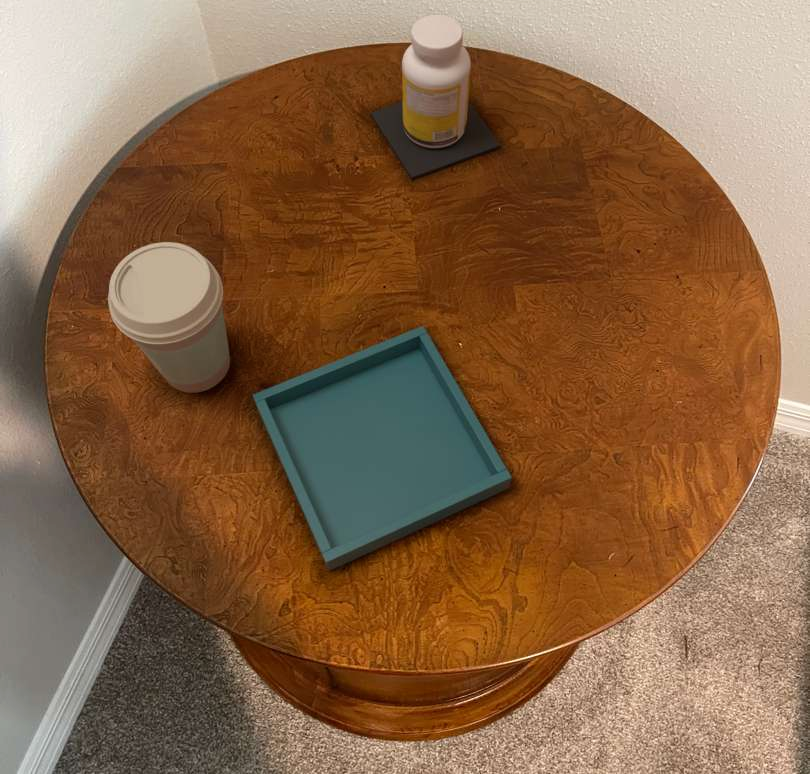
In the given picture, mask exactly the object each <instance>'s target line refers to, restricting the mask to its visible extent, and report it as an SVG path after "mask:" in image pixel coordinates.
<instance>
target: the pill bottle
mask: <svg viewBox="0 0 810 774" xmlns="http://www.w3.org/2000/svg"><path fill="white" fill-rule="evenodd" d="M410 33H411V37H410V39H411V40H410V43H411V44H410V45H409V46H407V49H406V50H405V51H404V54H403V57H402V61H401V87H402V89H401V90H402V91H401V93H402V94H401V95H402V102H403V127H404V130H405V133H406V134H407V136H408V137H409V138H410V139H411V140H412V141H413V142H415V143H416V144H418V145H420V146H423V147H427V148H442V147H446V146H449V145H451V144H453V143H455V142H456V141H457V140H459V139H460V138H461V136H462V135H463V133H464V131H465V129H466V122H467V110H468V101H469V97H470V96H469V95H470V84H471V83H470V81H471V70H472V69H471V68H472V67H471V66H472V64H471V57H470V54H469V52H468V50H467V49H466V47H465V46H464V45H463V43H464V39H463V38H464V29H463V27H462V25H461V24H460V22H458V20H456V19H455V18H454V17H451V16H448V15H445V14H429V15H425V16H423V17H421V18H419V19H418V20H416V21H415V22H414V23H413V25H412V27H411V31H410Z"/></svg>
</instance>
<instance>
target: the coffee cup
mask: <svg viewBox="0 0 810 774" xmlns="http://www.w3.org/2000/svg"><path fill="white" fill-rule="evenodd" d="M108 285H109V286H108V294H107V296H108V297H107V303H108V309H109V312H110V316H111V319H112V320H113V323H114V324H115V326H116V327H117V329H118V330H119V331H120V332H121V333H123V334H124V335H125V336H127V337H128V338H131V339H132V340H133V342H134V343H135V344H136V346H137V347H138V348H139V349H140V350H141V351H142V353H143V354H144V355H145V356H146V358H147V359H148V360H149V362H150V363H151V364H152V365H153V366H154V367H155V369H156V370H157V371H158V373H159V374H160V375H161V376H162V377H163V379H164V380H165V381H166V382H167V383H168V384H169V385H170V386H171V387H172V388H174V389H175V390H177V391H180V392H183V393H187V394H188V393H189V394H193V393H195V394H197V393H201V392H205V391H208V390H210V389H212V388H214V387H215V386H217V385H218V384H220V382H222V380H224V378H225V377H226V375H227V374H228V371H229V368H230V365H231V355H230V349H229V348H230V347H229V341H228V336H227V335H228V334H227V329H226V322H225V317H224V316H225V315H224V310H223V309H224V308H223V296H224V287H223V282H222V278H221V276H220V274H219V272H218V271H217V269H216V268H215V266H214V265H213V264H212V262H211V261H210V260H208V258H207V257H205V256H203V255H202V254H201V253H200V252H199V251H197V250H196V249H194V247H191V246H189V245H187V244H183V243H179V242H172V241H164V242H163V241H161V242H156V243H155V242H154V243H151V244H147V245H144V246H141V247H139V248H137V249H135V250H134V251H132V252H130V253H129V254H128V255H126V256H125V257H124V258H123V259H122V260H121V261H119V263H118V264H117V266H116V267H115V268H114V270H113V272H112V274H111V276H110V279H109V284H108Z"/></svg>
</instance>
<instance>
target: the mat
mask: <svg viewBox="0 0 810 774" xmlns="http://www.w3.org/2000/svg"><path fill="white" fill-rule="evenodd" d="M369 113H370V117H371V118H372V120H373V121H374V123H375V125H376V126H377V128H378V130H379V131H380V133H381V134H382V136H383V137H384V139H385V141H386V142H387V144H388V145H389V146H390V148H391V150H392V152H393V154H395V155H396V157H397V160H398V161H399V162H400V164H401V165H402V167H403V168H404V170H405V172H406V173H407V174H408V176H409V178H410V179H411V181H413V180H416V179H418V178H421V177H425V176H427V175H429V174H433V173H435V172H438V171H440V170H444V169H446V168H449V167H452V166H454V165H457V164H460V163H463V162H465V161H468V160H471V159H473V158H476V157H479V156H481V155H484V154H488V153H490V152H493V151H496V150H498V149H500V148H501V143H500V141H498V139H497V138H496V137H495V135H494V134H493V132H492V131H491V130H490V128H489V127H488V126H487V124H486V123H485V121H484V120H483V119H482V117H481V116H480V115H479V113H478V112H477V111H476V109H475V108H474V107H473V105H472V104H471V102H470V101H469V100H468V110H467V122H466V129H465V131H464V133H463V135H462V136H461V138H460V139H459V140H457V141H456V142H455V143H453V144H451V145H449V146H446V147H442V148H427V147H423V146H420V145H418V144H416V143H415V142H413V141H412V140H411V139H410V138H409V137H408V136H407V134H406V133H405V130H404V127H403V101H400V102H397V103H395V104H392V105H389V106H385V107H382V108H380V109H376V110H374V111H371V112H369Z"/></svg>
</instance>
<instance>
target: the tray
mask: <svg viewBox="0 0 810 774" xmlns="http://www.w3.org/2000/svg"><path fill="white" fill-rule="evenodd" d="M252 399H253V401H254V404H255V407H256V410H257V412H258V414H259V416H260V419H261V421H262V424H263V426H264V428H265V430H266V432H267V435H268V437H269V439H270V440H271V444H272V447H273V448H274V451H275V453H276V455H277V457H278V459H279V462H280V465H281V467H282V469H283V471H284V473H285V476H286V478H287V480H288V482H289V485H290V487H291V489H292V492H293V495H294V496H295V498H296V500H297V503H298V505H299V508H300V509H301V510H300V511H301V512H302V514H303V517H304V519H305V521H306V523H307V526H308V528H309V530H310V532H311V534H312V538H313V540H314V541H315V543H316V546H317V548H318V550H319V553H320V555H321V558H322V560H323V562H324V564H325V566H326V567H325V568H326V569H327V571H328V572H331V571H332V570H334V569H337V568H339V567H341V566H344V565H346V564H348V563H350V562H352V561H354V560H356V559H358V558H361V557H363V556H365V555H367V554H369V553H372V552H374V551H376V550H378V549H381V548H382V547H385V546H386V545H389V544H392V543H393V542H395V541H398V540H400V539H402V538H404V537H407V536H408V535H411V534H413V533H415V532H417V531H419V530H421V529H423V528H427V527H428V526H430V525H433V524H435V523H436V522H439V521H441V520H443V519H445V518H448V517H450V516H452V515H454V514H456V513H458V512H460V511H461V512H462V510H465V509H468V508H470V507H472V506H473V505H476V504H478V503H480V502H482V501H485V500H487V499H490V498H491V497H493V496H495V495H498V494H500V493H502V492H504V491H506V490H508V489H510V486H511V482H512V475H511V473H510V471H509V470H508V468H507V467H506V465H505V463H504V461H503V460H502V458H501V456H500V455H499V453H498V452H497V450H496V448H495V446H494V444H493V442H492V441H491V439H490V437H489V436H488V434H487V432H486V431H485V429H484V427H483V426H482V424H481V422H480V420H479V418H478V417H477V415H476V414H475V412H474V410H473V409H472V406H471V405H470V403H469V401H468V399H467V398H466V396H465V394H464V393H463V392H462V389H461V388H460V386H459V384H458V383H457V381H456V380H455V378H454V376H453V374H452V372H451V371H450V369H449V367H448V365H447V363H446V362H445V361H444V358H443V357H442V355H441V354H440V352H439V350H438V349H437V347H436V345H435V344H434V341H433V339H432V338H431V336H430V334H429V333H428V331H427V330H426V328H425V326H424V325H421V326H419V327H416V328H413V329H412V330H408V331H406V332H404V333H402V334H399V335H397V336H394V337H391V338H389V339H387V340H383V341H381V342H380V343H377V344H374V345H371V346H369V347H367V348H365V349H364V348H363V349H362V350H360V351H357V352H355V353H352V354H349V355H347V356H345V357H342V358H340V359H337V360H335V361H333V362H330V363H327V364H325V365H323V366H320V367H318V368H315V369H313V370H309V371H308V372H305V373H303V374H300V375H298V376H295V377H293V378H290V379H288V380H285V381H283V382H280V383H278V384H275V385H273V386H270V387H267V388H266V389H262V390H261V391H258V392H256V393H253V394H252Z"/></svg>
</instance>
